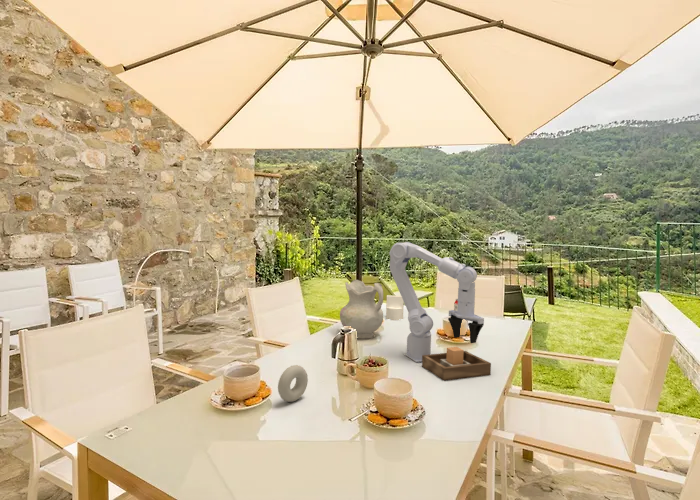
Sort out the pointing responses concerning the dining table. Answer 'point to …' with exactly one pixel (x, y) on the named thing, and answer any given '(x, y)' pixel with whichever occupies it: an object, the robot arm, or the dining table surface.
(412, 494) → the dining table surface
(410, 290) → the robot arm
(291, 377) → the donut
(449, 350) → the plug
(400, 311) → the base with upright slab
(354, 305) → the ceramic pitcher
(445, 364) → the box
